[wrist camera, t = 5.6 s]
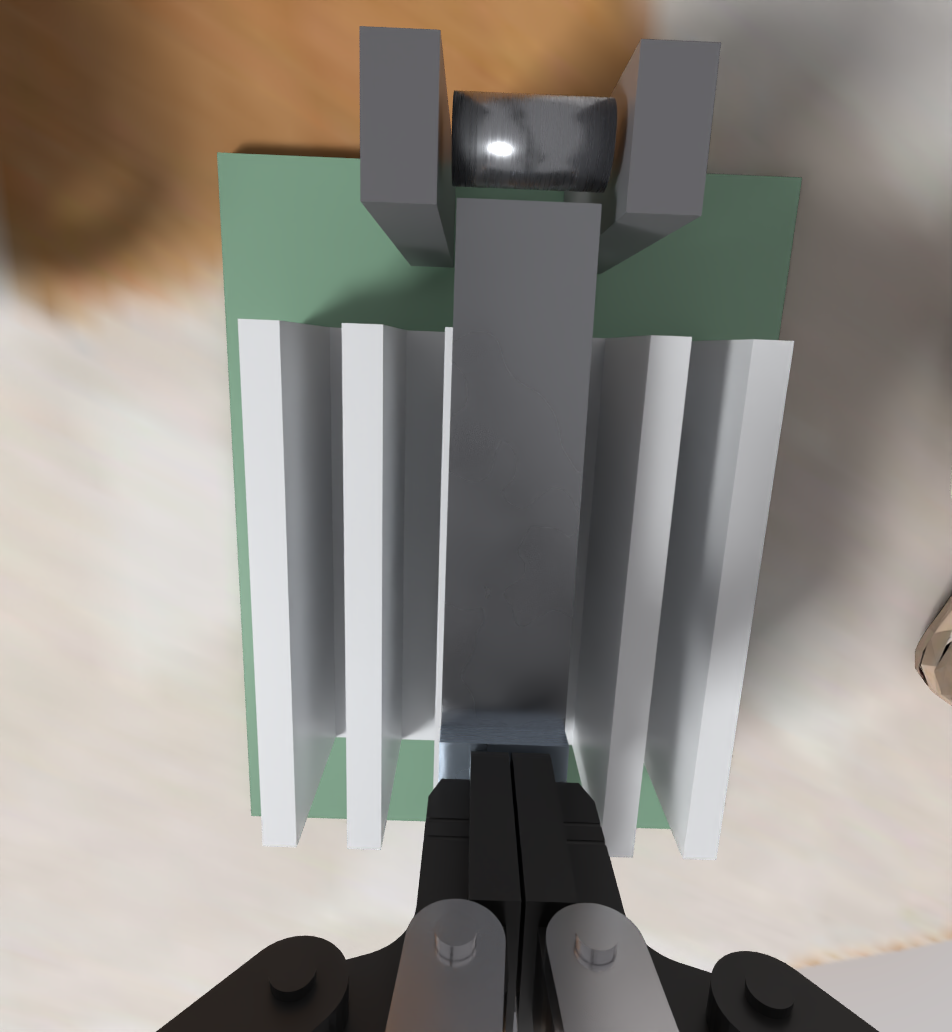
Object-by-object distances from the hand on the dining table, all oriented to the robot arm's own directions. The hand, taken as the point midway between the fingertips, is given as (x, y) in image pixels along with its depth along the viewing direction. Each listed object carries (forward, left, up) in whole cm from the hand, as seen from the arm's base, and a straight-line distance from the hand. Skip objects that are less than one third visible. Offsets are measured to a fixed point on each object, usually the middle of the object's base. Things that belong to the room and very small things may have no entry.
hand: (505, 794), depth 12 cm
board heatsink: (-2, 0, -10) cm, 10 cm away
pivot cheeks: (-11, 0, -10) cm, 15 cm away
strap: (-4, 0, -2) cm, 4 cm away
